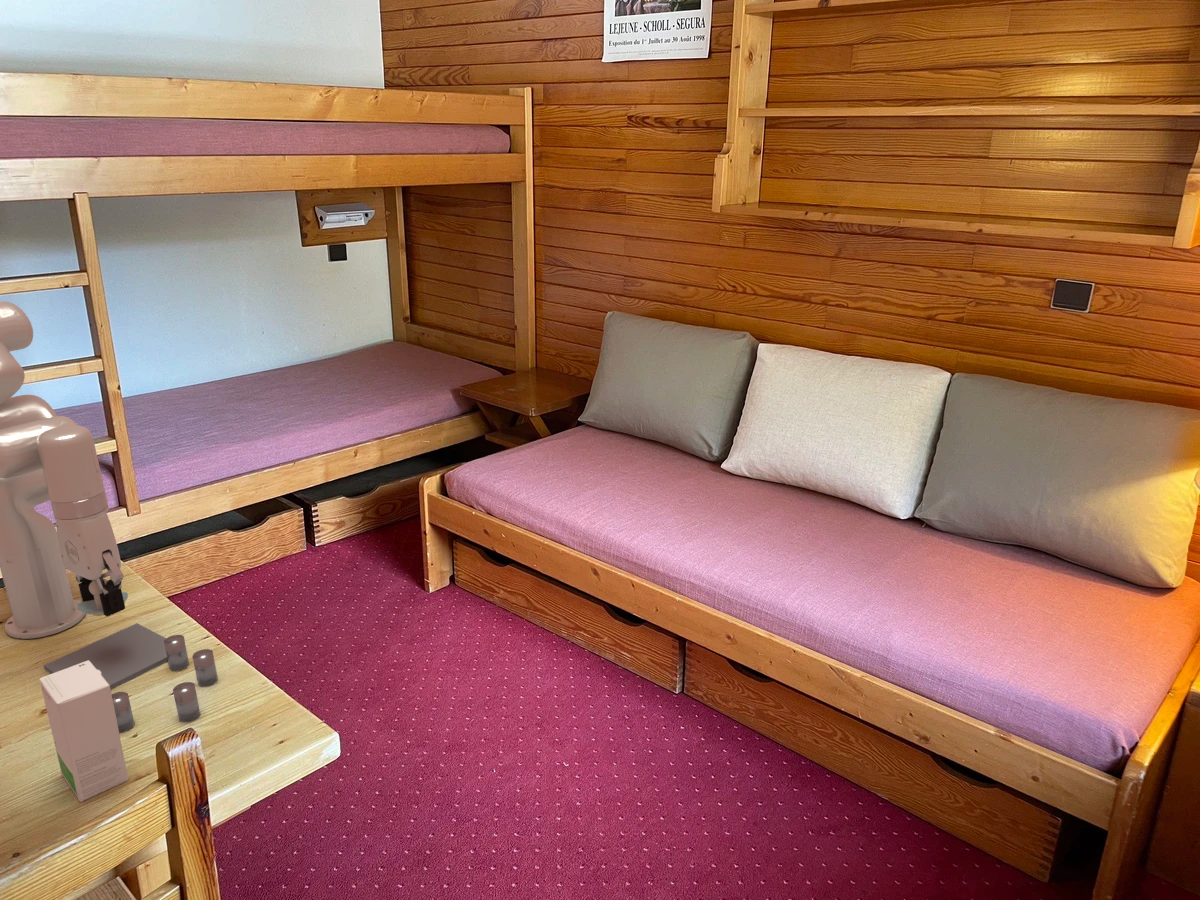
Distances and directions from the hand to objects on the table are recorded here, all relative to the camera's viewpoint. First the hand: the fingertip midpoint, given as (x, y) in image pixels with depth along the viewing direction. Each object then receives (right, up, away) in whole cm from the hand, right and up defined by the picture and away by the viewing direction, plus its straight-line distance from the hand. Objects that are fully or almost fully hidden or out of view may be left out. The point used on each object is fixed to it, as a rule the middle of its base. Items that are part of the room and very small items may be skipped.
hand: (104, 606), depth 148 cm
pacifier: (0, -1, +1) cm, 1 cm away
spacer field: (+13, -13, -7) cm, 20 cm away
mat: (0, -10, +4) cm, 10 cm away
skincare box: (+12, -19, -24) cm, 33 cm away
